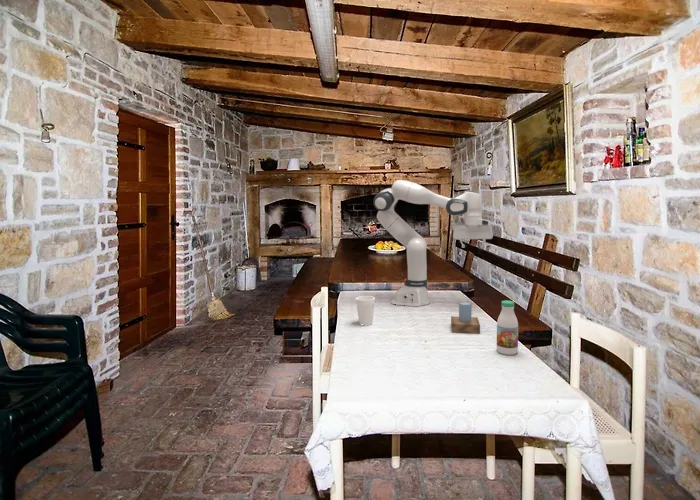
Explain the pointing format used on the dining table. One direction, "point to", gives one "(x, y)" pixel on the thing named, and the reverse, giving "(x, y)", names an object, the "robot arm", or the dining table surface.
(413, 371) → the dining table surface
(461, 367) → the dining table surface
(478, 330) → the base brick
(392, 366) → the dining table surface
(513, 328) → the milk bottle
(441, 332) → the dining table surface
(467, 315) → the tower block
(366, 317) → the foam cup
